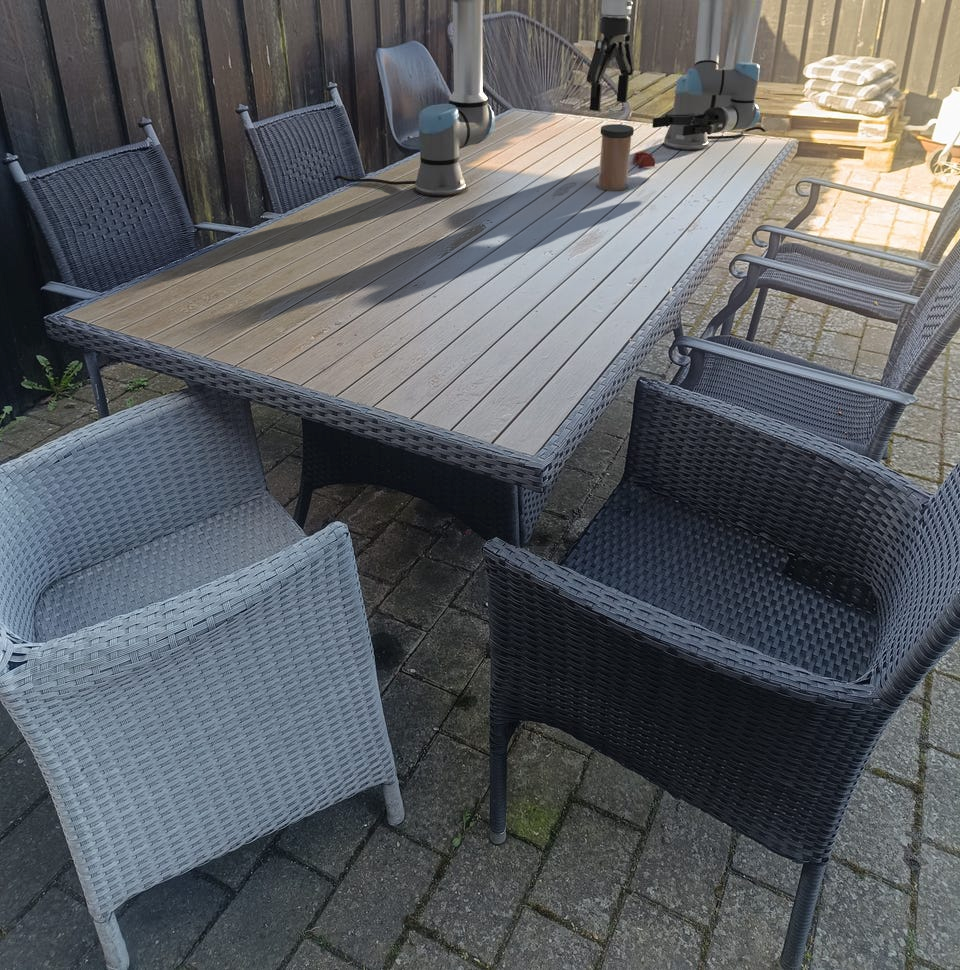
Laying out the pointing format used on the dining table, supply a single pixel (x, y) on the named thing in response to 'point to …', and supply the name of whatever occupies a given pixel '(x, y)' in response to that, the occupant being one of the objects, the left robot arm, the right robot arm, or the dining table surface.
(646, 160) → the red irregular lump
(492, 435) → the dining table surface
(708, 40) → the right robot arm
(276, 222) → the dining table surface
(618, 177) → the jar
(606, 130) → the lid
